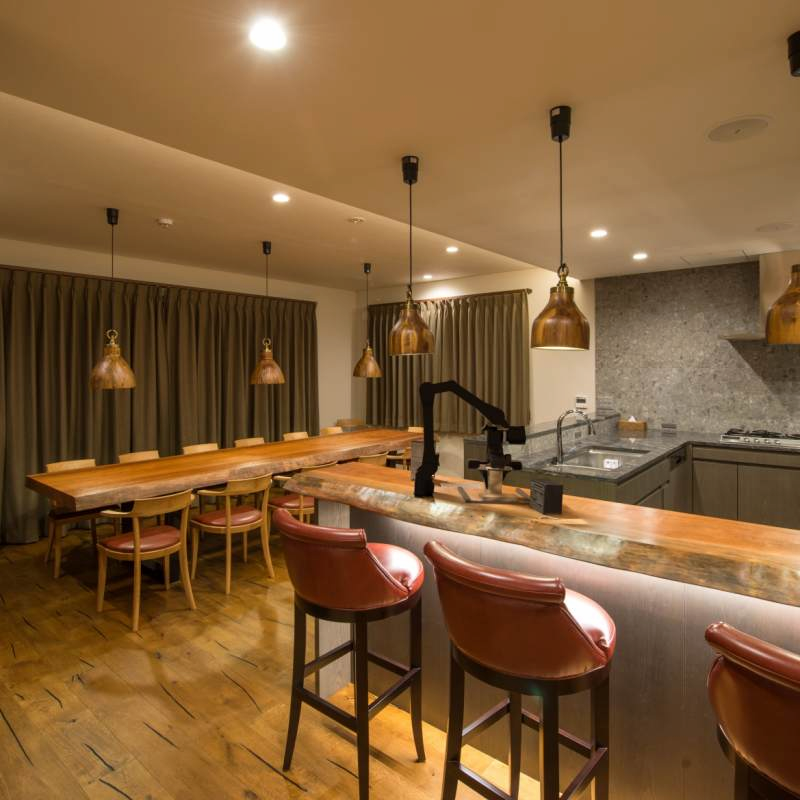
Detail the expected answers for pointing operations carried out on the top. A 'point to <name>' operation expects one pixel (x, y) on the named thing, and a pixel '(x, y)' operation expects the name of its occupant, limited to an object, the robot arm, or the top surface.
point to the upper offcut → (498, 497)
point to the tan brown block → (494, 481)
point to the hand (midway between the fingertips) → (492, 489)
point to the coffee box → (417, 455)
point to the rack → (518, 490)
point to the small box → (546, 496)
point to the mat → (461, 485)
